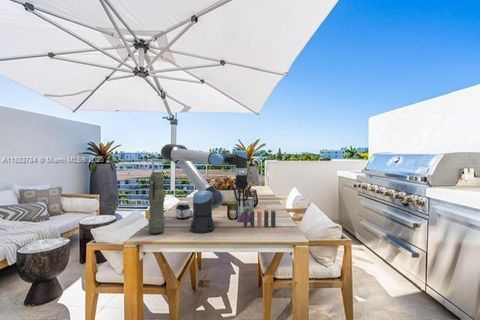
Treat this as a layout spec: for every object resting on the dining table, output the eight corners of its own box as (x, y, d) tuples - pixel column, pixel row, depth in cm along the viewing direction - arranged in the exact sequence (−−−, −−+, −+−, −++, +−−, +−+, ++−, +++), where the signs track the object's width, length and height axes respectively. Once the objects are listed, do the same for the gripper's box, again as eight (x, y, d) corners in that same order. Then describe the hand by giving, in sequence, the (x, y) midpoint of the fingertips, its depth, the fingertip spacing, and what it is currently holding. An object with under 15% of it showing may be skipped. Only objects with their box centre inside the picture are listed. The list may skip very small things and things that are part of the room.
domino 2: (251, 227, 158) (251, 211, 158) (250, 225, 163) (250, 210, 163) (254, 227, 158) (254, 211, 158) (253, 225, 163) (253, 210, 163)
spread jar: (174, 218, 180) (174, 202, 179) (182, 215, 190) (182, 200, 190) (188, 219, 176) (189, 203, 176) (196, 216, 187) (196, 200, 187)
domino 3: (258, 227, 158) (258, 211, 158) (257, 225, 163) (257, 210, 163) (261, 227, 158) (261, 211, 158) (260, 225, 163) (260, 210, 163)
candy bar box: (237, 221, 172) (237, 197, 172) (237, 219, 177) (237, 196, 177) (253, 222, 171) (253, 198, 171) (253, 220, 176) (253, 197, 176)
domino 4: (265, 227, 158) (265, 211, 158) (264, 225, 163) (264, 210, 163) (268, 227, 158) (268, 211, 158) (267, 225, 163) (267, 210, 163)
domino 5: (272, 227, 158) (272, 211, 158) (270, 225, 163) (271, 210, 163) (275, 227, 158) (275, 211, 158) (273, 225, 163) (274, 209, 163)
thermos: (144, 233, 143) (144, 172, 143) (153, 228, 154) (154, 171, 154) (159, 234, 142) (159, 173, 142) (167, 228, 153) (167, 171, 153)
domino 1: (244, 227, 157) (244, 211, 157) (243, 225, 162) (243, 210, 162) (247, 227, 157) (247, 211, 157) (246, 225, 162) (246, 210, 162)
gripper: (231, 175, 156) (231, 212, 156) (252, 174, 156) (252, 212, 156) (231, 174, 163) (231, 210, 163) (251, 174, 164) (251, 210, 164)
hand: (241, 211), depth 160 cm, fingers closed
